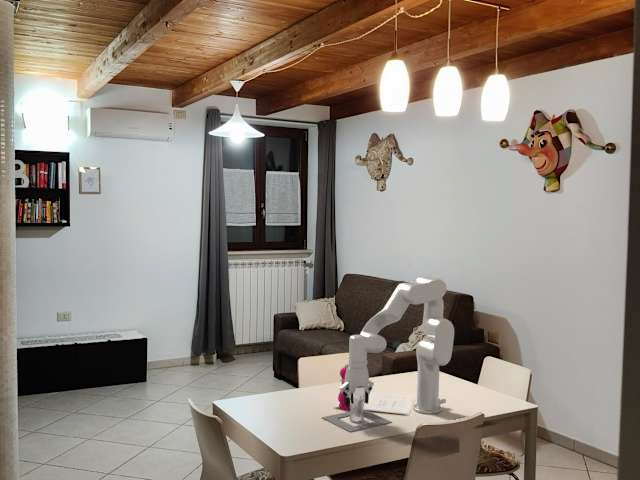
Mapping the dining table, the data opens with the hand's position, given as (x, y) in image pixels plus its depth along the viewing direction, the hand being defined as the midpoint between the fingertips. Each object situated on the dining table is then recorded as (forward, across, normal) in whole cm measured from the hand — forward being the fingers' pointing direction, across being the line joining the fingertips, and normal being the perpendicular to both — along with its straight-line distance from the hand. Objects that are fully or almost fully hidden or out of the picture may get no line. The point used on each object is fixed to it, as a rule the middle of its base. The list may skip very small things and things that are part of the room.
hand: (356, 404), depth 272 cm
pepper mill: (+7, -6, -16) cm, 19 cm away
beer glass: (+7, 0, 0) cm, 7 cm away
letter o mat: (+7, 0, 0) cm, 7 cm away
